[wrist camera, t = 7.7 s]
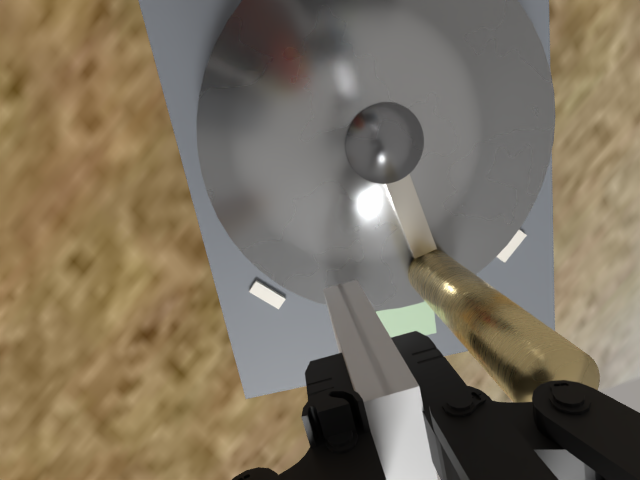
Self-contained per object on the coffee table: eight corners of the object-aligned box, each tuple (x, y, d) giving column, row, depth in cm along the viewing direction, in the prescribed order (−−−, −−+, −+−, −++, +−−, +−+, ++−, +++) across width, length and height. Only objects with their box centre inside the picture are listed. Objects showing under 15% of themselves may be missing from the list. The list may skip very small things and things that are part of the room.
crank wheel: (292, 346, 18) (302, 542, 10) (134, 43, 15) (-92, -102, 6) (569, 223, 18) (844, 307, 9) (482, -118, 14) (809, -529, 5)
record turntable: (118, -113, 15) (60, -202, 11) (520, -174, 16) (601, -278, 12) (248, 380, 21) (240, 437, 17) (536, 318, 22) (593, 359, 18)
